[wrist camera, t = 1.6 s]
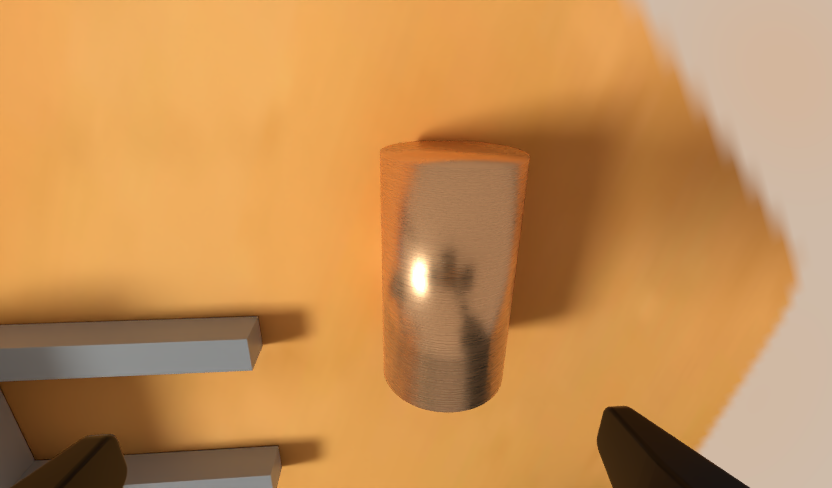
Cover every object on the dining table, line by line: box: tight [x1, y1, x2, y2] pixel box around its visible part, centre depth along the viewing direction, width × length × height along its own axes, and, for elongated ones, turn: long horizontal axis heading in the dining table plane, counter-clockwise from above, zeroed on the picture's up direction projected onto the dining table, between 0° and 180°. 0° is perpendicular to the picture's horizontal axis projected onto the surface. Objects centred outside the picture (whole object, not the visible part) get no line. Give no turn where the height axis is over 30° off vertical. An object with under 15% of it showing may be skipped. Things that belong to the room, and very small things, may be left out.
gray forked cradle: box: [0, 316, 282, 488], centre depth 15 cm, size 13×8×6 cm, turn 89°
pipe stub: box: [380, 141, 530, 412], centre depth 14 cm, size 8×4×4 cm
